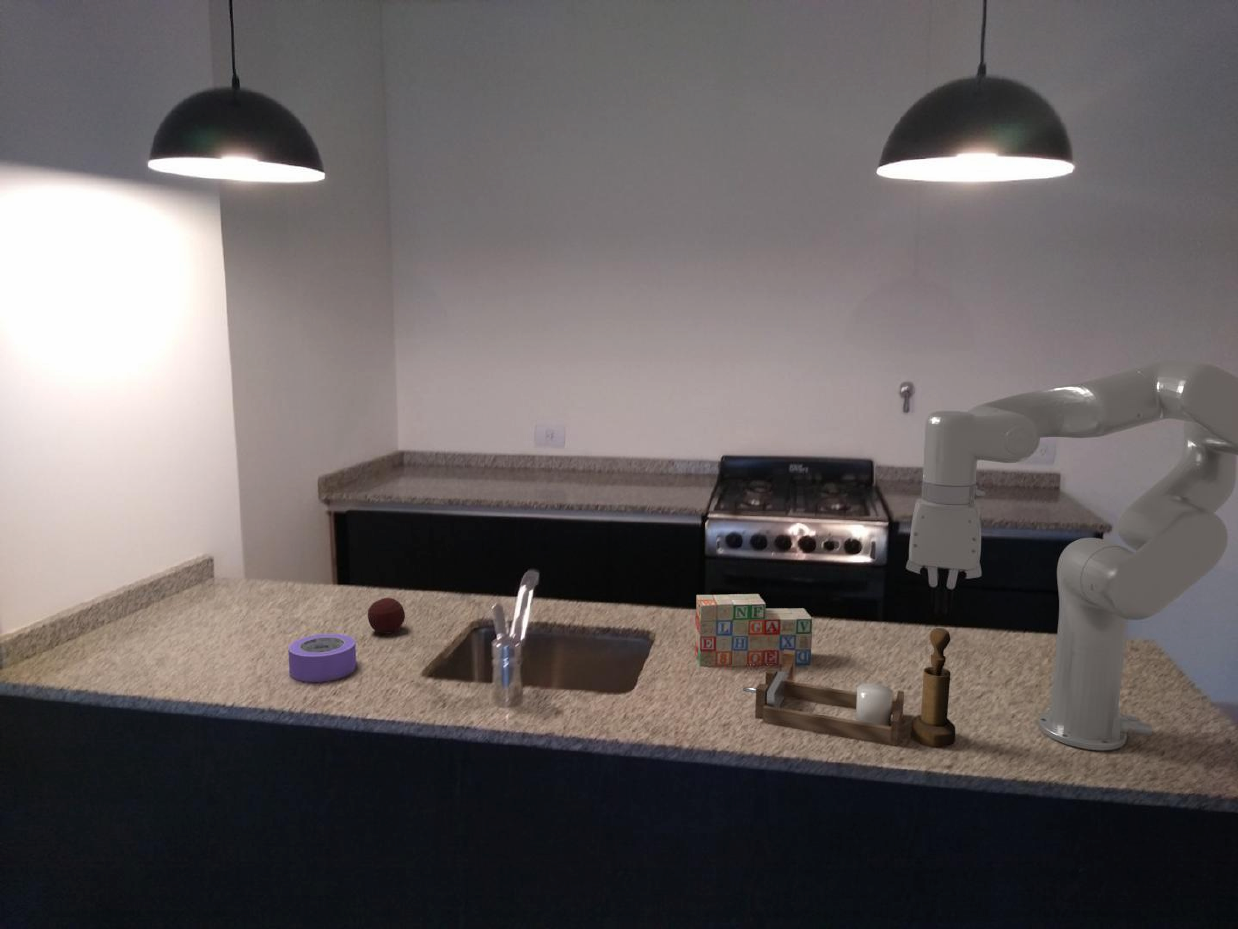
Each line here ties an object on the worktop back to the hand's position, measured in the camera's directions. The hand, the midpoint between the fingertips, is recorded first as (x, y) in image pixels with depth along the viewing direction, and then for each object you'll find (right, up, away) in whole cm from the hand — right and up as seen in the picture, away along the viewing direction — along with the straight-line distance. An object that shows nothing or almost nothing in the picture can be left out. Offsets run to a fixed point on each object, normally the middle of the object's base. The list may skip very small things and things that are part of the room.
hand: (940, 610), depth 138 cm
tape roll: (-104, -16, +28) cm, 109 cm away
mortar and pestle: (0, -21, +3) cm, 21 cm away
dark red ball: (-97, -12, +47) cm, 109 cm away
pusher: (-24, -18, +17) cm, 35 cm away
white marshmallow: (-8, -20, +8) cm, 23 cm away
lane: (-15, -19, +10) cm, 26 cm away
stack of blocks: (-24, -15, +35) cm, 45 cm away
